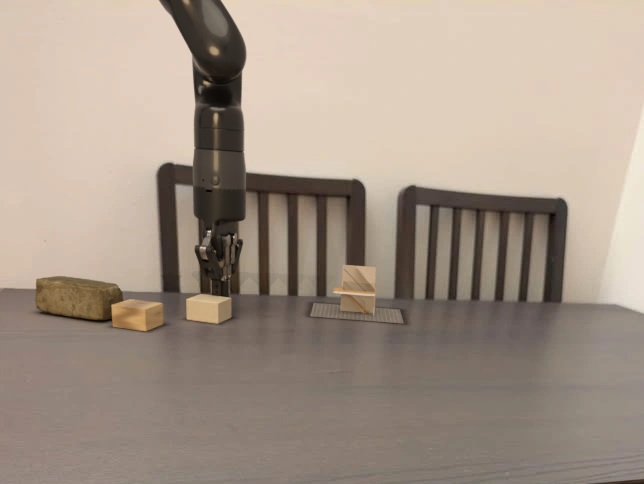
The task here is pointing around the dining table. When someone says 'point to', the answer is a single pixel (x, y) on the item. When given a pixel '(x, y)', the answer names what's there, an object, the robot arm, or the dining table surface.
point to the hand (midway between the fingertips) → (220, 305)
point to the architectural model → (357, 298)
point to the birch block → (137, 315)
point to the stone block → (77, 297)
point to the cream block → (208, 308)
